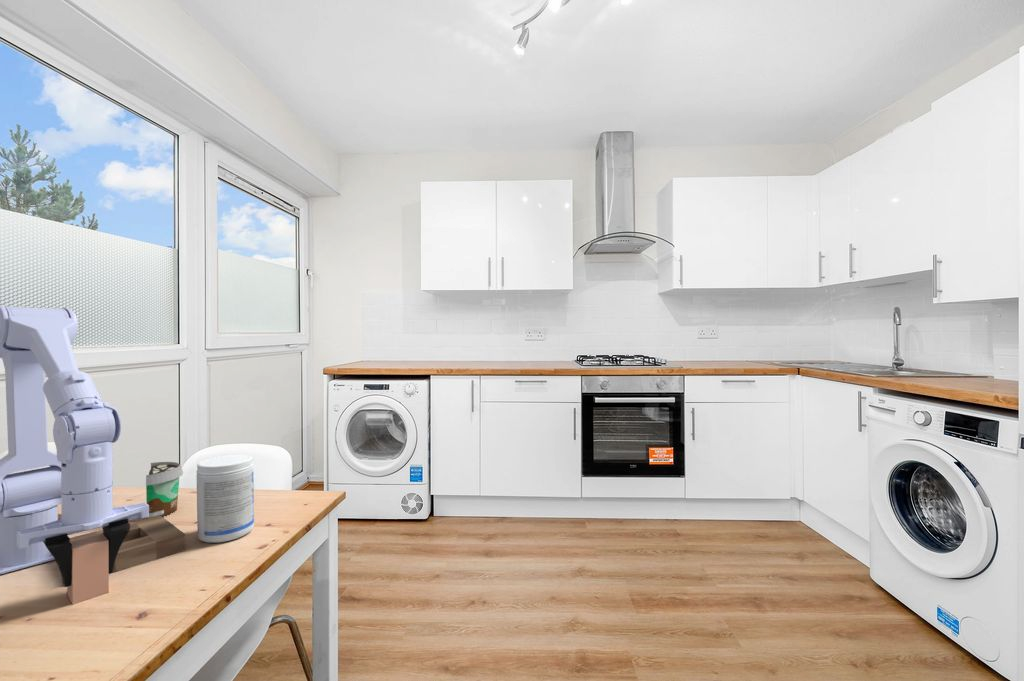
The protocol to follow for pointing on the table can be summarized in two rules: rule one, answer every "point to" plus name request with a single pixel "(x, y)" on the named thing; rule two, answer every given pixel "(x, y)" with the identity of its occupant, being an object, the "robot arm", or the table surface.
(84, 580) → the terracotta peg
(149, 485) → the food container
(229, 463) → the supplement tub
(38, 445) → the robot arm
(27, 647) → the table surface
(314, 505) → the table surface
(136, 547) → the walnut stand board
